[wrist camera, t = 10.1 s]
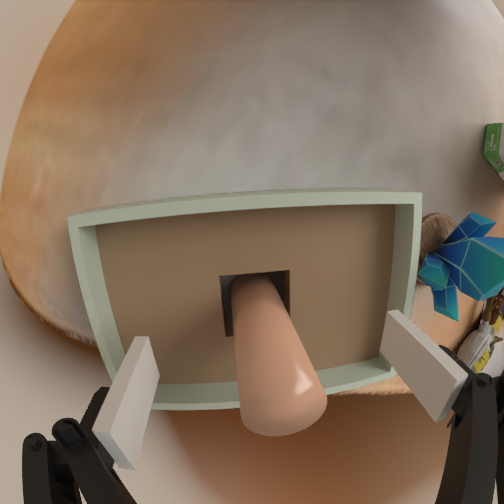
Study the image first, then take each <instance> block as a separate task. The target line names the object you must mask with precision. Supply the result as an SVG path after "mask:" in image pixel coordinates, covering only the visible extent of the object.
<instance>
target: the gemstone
mask: <svg viewBox="0 0 504 504" xmlns="http://www.w3.org/2000/svg"><path fill="white" fill-rule="evenodd" d="M495 223H496V222H494V221H492V220H490V219H488V218H485V217H483V216H481V215H479V214H476V213H474V212H471V213H470V214H469V215H468V216H467V217H466V218H465V219H464V220H463V221H462V222H461V223H460V224H459V225H458V226H457V227H455V225H454V223H453V221H452V220H451V219H450V218H449V217H447V216H446V215H443V214H438V213H433V214H429V215H427V216H425V217H424V218H423V219H422V223H421V239H420V251H419V261H418V270H417V278H416V280H417V281H419V282H420V283H422V284H426V285H427V286H430V287H431V291H432V293H433V299H434V311H436V312H439V313H441V314H443V315H445V316H447V317H449V318H451V319H454V320H456V321H458V322H459V313H458V301H457V291H456V286H457V288H458V289H459V290H460V292H462V293H464V294H466V295H468V296H470V297H472V298H473V299H475V300H477V301H482V300H484V299H487V298H489V297H491V296H494V295H496V294H497V293H498V292H499V291H500V290H501V289H502V288H503V287H504V238H496V237H483V236H484V235H485V234H486V233H487V232H488V231H489V230H490V229H491V228H492V227H493V226H494V225H495ZM450 278H451V279H450Z"/></svg>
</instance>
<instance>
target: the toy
mask: <svg viewBox="0 0 504 504" xmlns="http://www.w3.org/2000/svg"><path fill="white" fill-rule="evenodd" d="M494 298H495V299H494ZM503 319H504V289H503V291H502V293H501V294H500V296H492V298H491V297H489V298H487V299H485V301H484V306H483V312H482V317H481V321H480V326H479V329H477V330H474V331H473V332H471V333H470V334H469V336H468V337H467V338H466V339H465V340H464V341H463V343H462V345H461V346H460V348H459V350H458V353H457V357H458V358H459V360H461V361H463V362H464V363H465V364H466V365H467V366H468V367H469V368H470V369H471V370H472V371H473V372H474V373H475V374H477V373H479V372H480V371H481V370H482V369H483V368H484V367H485V365H486V363H487V362H488V360H489V359H490V357H491V355H492V353H493V350H494V344H495V343H496V342H499V341H502V340H503V338H499V337H497V336H495V334H496V332H497V331H498V329H499V327H500V325H501V323H502V321H503ZM494 336H495V337H494Z"/></svg>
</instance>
